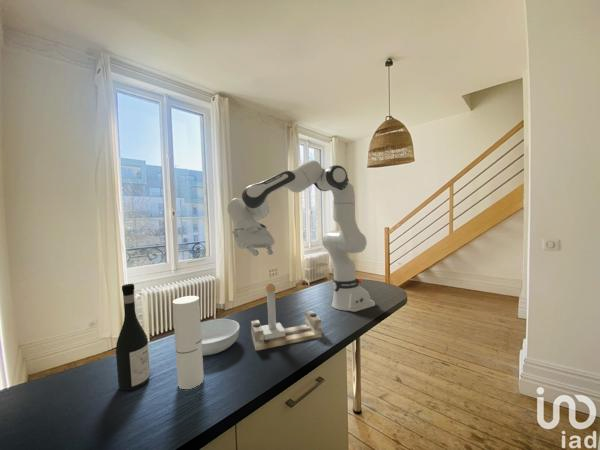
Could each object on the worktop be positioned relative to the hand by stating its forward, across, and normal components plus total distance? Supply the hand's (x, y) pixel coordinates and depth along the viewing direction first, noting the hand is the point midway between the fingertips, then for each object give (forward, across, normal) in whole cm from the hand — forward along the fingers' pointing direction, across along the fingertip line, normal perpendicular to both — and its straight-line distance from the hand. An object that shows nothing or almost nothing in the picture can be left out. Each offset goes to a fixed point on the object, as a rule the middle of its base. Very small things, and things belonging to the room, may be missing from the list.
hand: (264, 254), depth 108 cm
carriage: (+28, -3, +14) cm, 31 cm away
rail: (+32, +2, +13) cm, 34 cm away
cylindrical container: (+29, -34, +22) cm, 50 cm away
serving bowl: (+20, -18, +30) cm, 40 cm away
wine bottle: (+20, -43, +34) cm, 58 cm away
